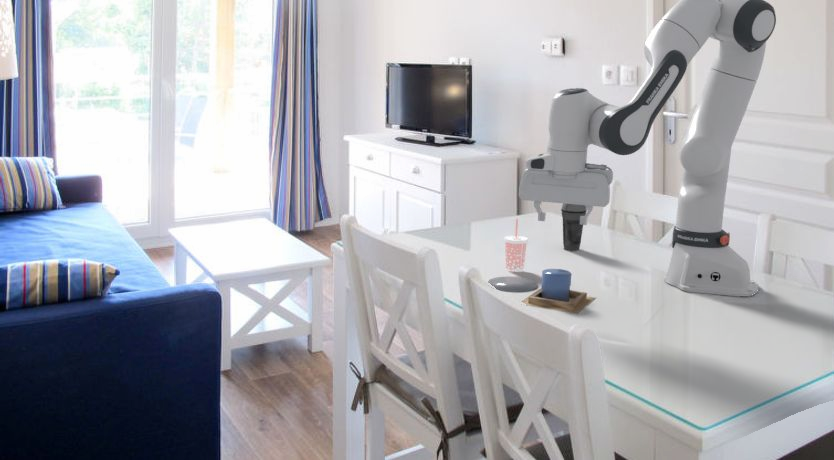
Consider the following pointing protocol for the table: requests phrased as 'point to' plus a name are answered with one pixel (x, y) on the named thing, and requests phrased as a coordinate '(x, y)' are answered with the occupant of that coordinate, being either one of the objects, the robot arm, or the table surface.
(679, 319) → the table surface
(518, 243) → the beverage cup
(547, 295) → the blue cylinder with nub
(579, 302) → the tray
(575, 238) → the beverage cup
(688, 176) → the robot arm
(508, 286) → the coaster
